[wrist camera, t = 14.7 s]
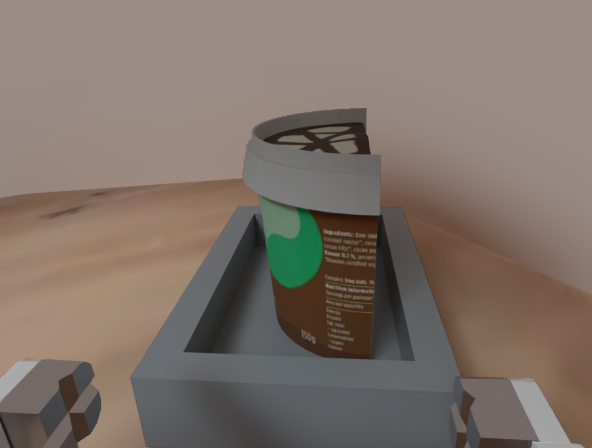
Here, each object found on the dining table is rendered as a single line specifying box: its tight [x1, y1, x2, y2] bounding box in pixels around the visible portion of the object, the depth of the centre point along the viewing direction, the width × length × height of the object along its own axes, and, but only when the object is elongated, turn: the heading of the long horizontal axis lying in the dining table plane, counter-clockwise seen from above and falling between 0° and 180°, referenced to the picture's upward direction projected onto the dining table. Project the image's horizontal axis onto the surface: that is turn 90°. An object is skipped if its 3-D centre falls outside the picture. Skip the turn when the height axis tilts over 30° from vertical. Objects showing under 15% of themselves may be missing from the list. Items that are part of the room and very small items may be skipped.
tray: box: [130, 206, 461, 448], centre depth 24 cm, size 12×18×4 cm, turn 174°
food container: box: [243, 108, 381, 360], centre depth 23 cm, size 12×6×10 cm, turn 174°
